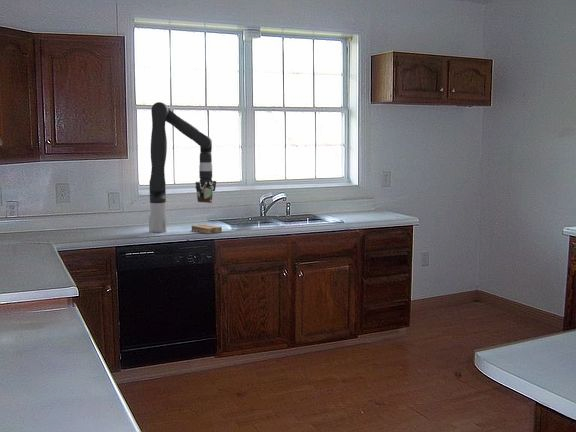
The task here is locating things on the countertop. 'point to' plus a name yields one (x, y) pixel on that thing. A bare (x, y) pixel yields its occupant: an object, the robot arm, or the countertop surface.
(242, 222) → the countertop surface
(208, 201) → the food container
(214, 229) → the flat wooden block
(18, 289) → the countertop surface
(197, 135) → the robot arm
